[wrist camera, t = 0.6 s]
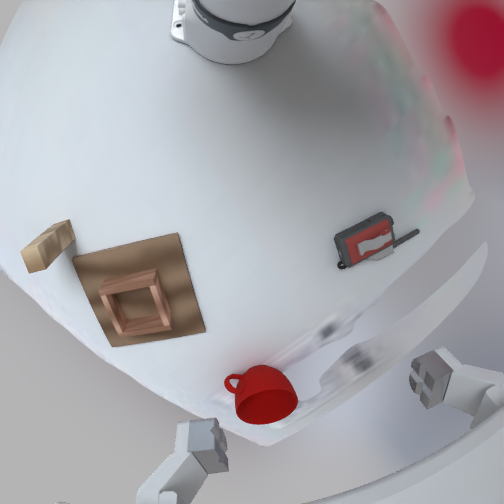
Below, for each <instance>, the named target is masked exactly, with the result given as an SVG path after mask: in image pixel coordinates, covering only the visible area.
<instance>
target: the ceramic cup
mask: <svg viewBox="0 0 504 504" xmlns="http://www.w3.org/2000/svg"><path fill="white" fill-rule="evenodd" d="M230 379H239V382H238V384H237V387H236V388H234V387H233V386H232V385H231V384H230V381H229V380H230ZM224 384H225V387H226V389H227V390H228V391H229V392H231V393H233V394H235V408H236V414H237V416H238V417H239V418H240V419H241V420H242V421H244V422H246V423H250V424H257V425H260V424H269V423H273V422H276V421H279V420H281V419H283V418H285V417H287V416H288V415H290V414H291V413H292V412H293V411H294V410H295V408H296V406H297V404H298V397H297V395H296V393H295V391H294V389H293V387H292V385H291V383H290V381H289V380H288V379H287V378H286V376H285V375H283V373H281V372H280V371H278V370H277V369H275V368H272V367H269V366H265V365H258V366H254V367H252V368H250V369H249V370H247V371H246V373H245V374H244V375H239V374H231V375H229V376H228V377H227V378H226V379H225V381H224Z"/></svg>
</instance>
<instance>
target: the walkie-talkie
mask: <svg viewBox="0 0 504 504" xmlns="http://www.w3.org/2000/svg"><path fill="white" fill-rule="evenodd" d="M393 224H394V222H393V219H392V217H391V216H389V215H387V214H385V213H383V212H380V213H378V214H376V215H374V216H372V217H370V218H368V219H366V220H364V221H363V222H360V223H358V224H356V225H355V226H354V225H353V227H350V228H348V229H346V230H343V231H341V232H340V233H338V234H336V235H335V237H334V240H335V244H336V247H337V250H338V253H339V257H340V260H341V261H339V262H338V268H339V269H345V268H347V267H351V266H353V265H355V264H357V263H360V262H361V261H363V260H365V259H367V260H369V259H373V260H380V259H381V258H383V257H385V256H387V255H389V254H392V253H394V251H393V248H395V247H397V245H399V244H401V243H403V242H405V241H406V240H408V239H410V238H412V237H413V236H415V235H417V234H419V232H420V230H419V229H416V230H414V231H412V232H410V233H409V234H407V235H405V236H403V237H402V238H400V239H398V240H396V241H395V238H394V236H395V234H394V233H393V227H392V225H393ZM342 263H343V264H344V266H340V265H341V264H342Z"/></svg>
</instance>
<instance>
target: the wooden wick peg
mask: <svg viewBox="0 0 504 504" xmlns="http://www.w3.org/2000/svg"><path fill="white" fill-rule="evenodd" d="M74 239H75V236H74V233H73V230H72V226H71V223H70V220H66V221H62V222H59V223H56V224H54V225H52V226H51V227H50V228H48V229H47V230H46V231H45V232H43V233H42V234H41V235H40V236H38V237H37V238H36V239H35V240H33V241H32V242H31V243H30V244H29V245H27V246H26V247H25V248H24V249H23V250H21V251H20V252H21V255H22V257H23V260H24V262H25V265H26V267H27V270H28V272H29V274H30V273H33V272H37V271H41V270H45V269H47V268H48V266H49V265H50V264H51V263H52V262H53V261H54V260H55V259H56V258H57V257H58V256H59V255H60V254H61V252H62V251H63V250H64V249H65V248H66V247H67V246H68V245H69V244H70V243H71V242H72V241H73V240H74Z"/></svg>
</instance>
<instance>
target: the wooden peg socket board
mask: <svg viewBox="0 0 504 504" xmlns="http://www.w3.org/2000/svg"><path fill="white" fill-rule="evenodd" d="M72 262H73V265H74V267H75V270H76V272H77V275H78V277H79V279H80V282H81V284H82V286H83V289H84V291H85V293H86V296H87V298H88V300H89V302H90V304H91V307H92V309H93V311H94V313H95V315H96V317H97V319H98V321H99V323H100V325H101V327H102V329H103V331H104V333H105V335H106V337H107V339H108V341H109V343H110V345H111V346H112V347H117V346H125V345H132V344H138V343H145V342H151V341H158V340H164V339H170V338H175V337H181V336H187V335H192V334H197V333H203V332H205V326H204V323H203V320H202V317H201V313H200V310H199V307H198V304H197V300H196V297H195V293H194V290H193V286H192V283H191V279H190V276H189V272H188V269H187V265H186V261H185V258H184V254H183V250H182V246H181V243H180V239H179V235H178V233H173V234H168V235H164V236H160V237H155V238H151V239H146V240H142V241H138V242H134V243H129V244H125V245H121V246H117V247H113V248H108V249H104V250H100V251H96V252H92V253H88V254H84V255H80V256H77V257H73V259H72Z"/></svg>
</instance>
